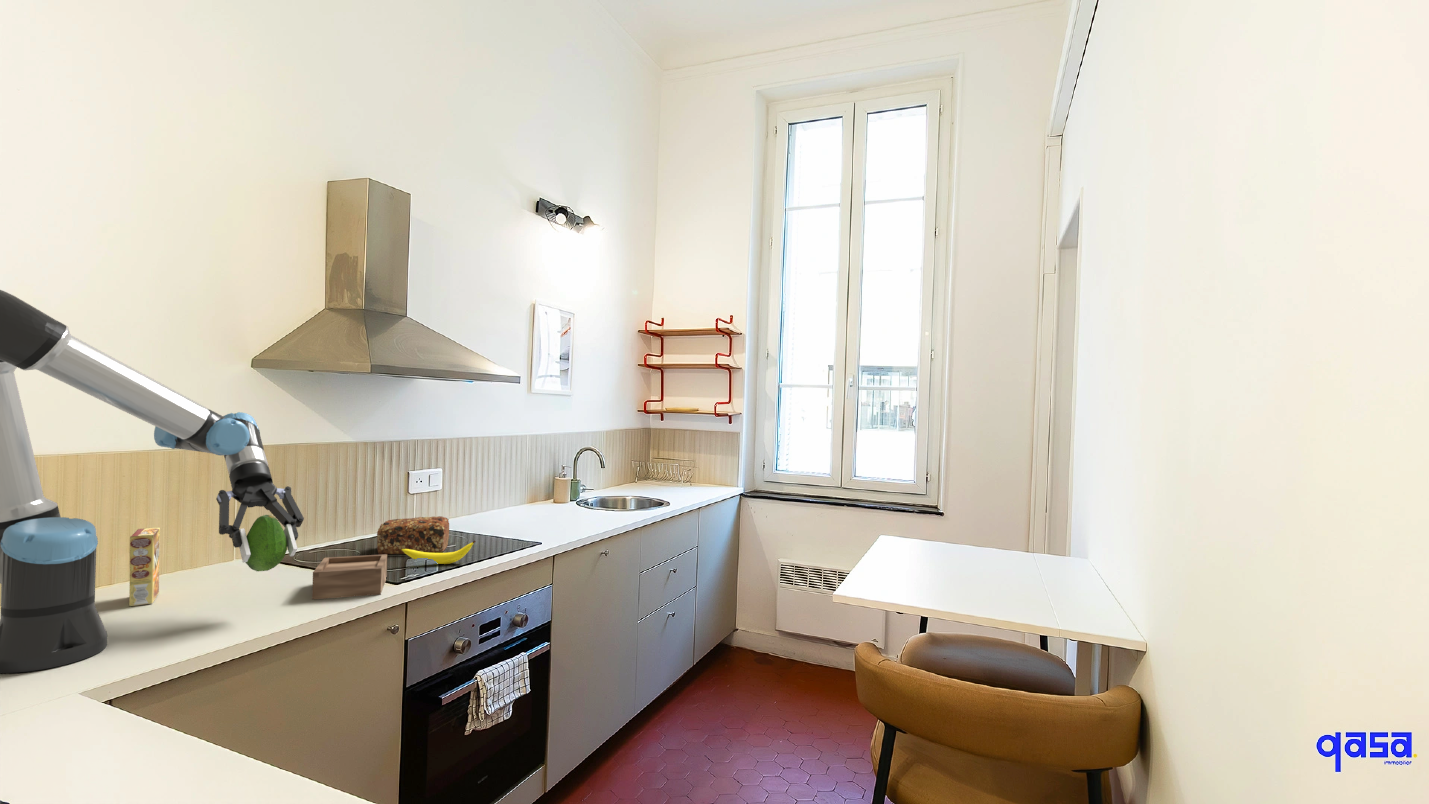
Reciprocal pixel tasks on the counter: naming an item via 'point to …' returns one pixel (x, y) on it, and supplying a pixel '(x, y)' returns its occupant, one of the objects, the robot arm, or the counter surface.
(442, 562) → the banana
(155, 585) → the candy box
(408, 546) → the bread
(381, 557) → the walnut wooden box
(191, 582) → the counter surface
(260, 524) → the avocado
